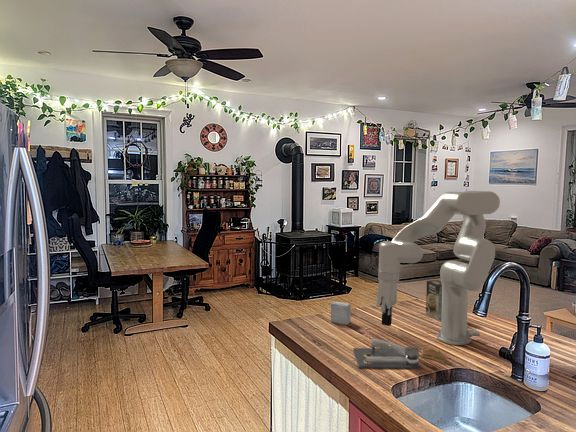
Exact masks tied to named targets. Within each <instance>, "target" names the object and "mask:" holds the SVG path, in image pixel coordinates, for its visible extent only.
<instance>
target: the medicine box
mask: <svg viewBox="0 0 576 432" xmlns="http://www.w3.org/2000/svg"><path fill="white" fill-rule="evenodd" d="M351 318H352V316H351V303H348V302H341V301H333V302H331V303H330V323H335V324H340V325H344V326H347V325H349V323H351V321H352V319H351Z"/></svg>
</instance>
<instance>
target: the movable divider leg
mask: <svg viewBox="0 0 576 432" xmlns="http://www.w3.org/2000/svg"><path fill="white" fill-rule="evenodd" d="M370 347H371V349H372V350H375V348H381V349H384V350H388V351H391V352H394V353H398V354H401V355H404V356H405V357H406V358H408V359H418V358H419V355H420V354H419V351H420V350H419V348H417V347H415V346H407V347H406V346H404V345H401V344H400V345H399V344H396V343H392V342H389V341H387V340H386V341H385V340H382V339H378V338H375V337H374V338H372V339H371V346H370Z"/></svg>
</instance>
